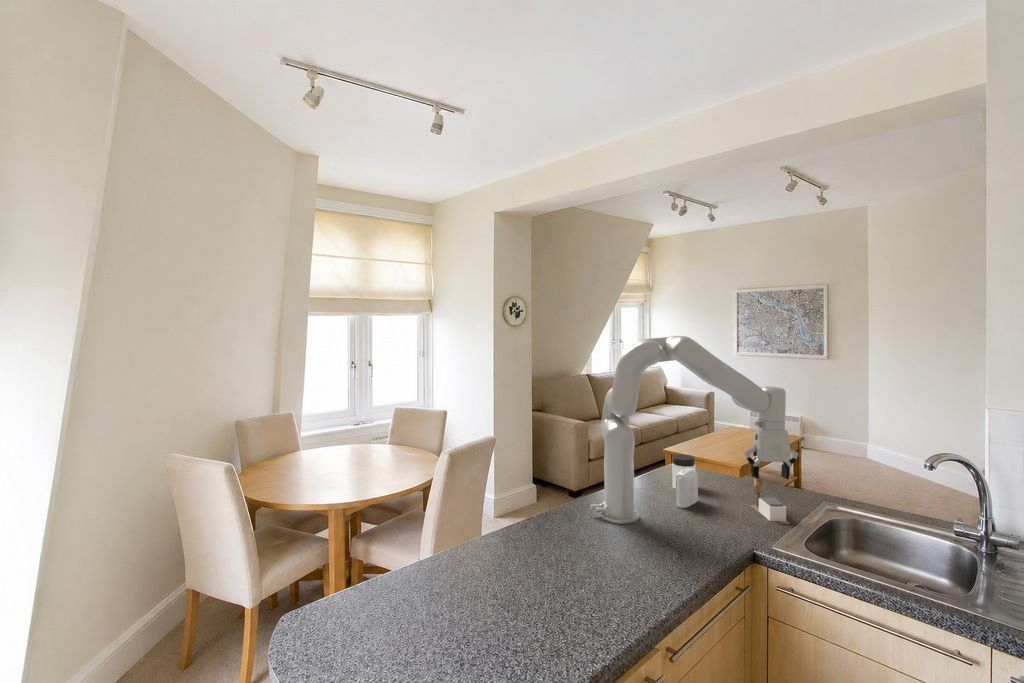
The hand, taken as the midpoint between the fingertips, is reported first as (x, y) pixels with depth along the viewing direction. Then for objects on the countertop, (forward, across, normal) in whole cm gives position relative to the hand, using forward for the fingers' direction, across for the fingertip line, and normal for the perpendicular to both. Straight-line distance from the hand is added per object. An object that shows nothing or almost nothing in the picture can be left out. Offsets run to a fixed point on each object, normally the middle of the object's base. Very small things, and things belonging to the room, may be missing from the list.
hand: (770, 477), depth 157 cm
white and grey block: (+12, +1, 0) cm, 13 cm away
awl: (+13, +1, +9) cm, 15 cm away
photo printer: (+14, -22, +13) cm, 29 cm away
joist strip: (+13, +1, +2) cm, 13 cm away
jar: (+14, -17, +30) cm, 37 cm away
